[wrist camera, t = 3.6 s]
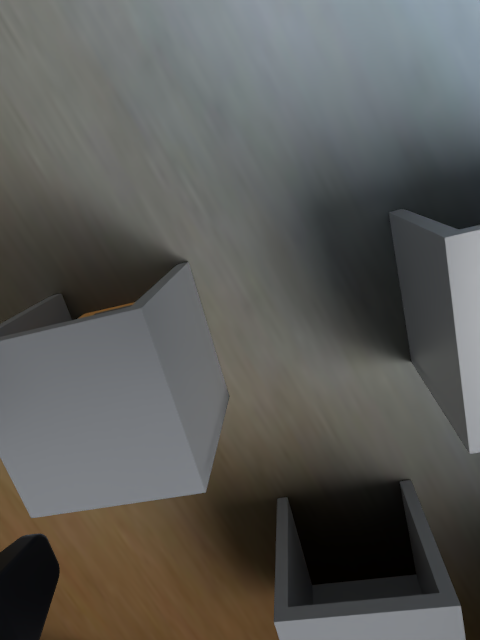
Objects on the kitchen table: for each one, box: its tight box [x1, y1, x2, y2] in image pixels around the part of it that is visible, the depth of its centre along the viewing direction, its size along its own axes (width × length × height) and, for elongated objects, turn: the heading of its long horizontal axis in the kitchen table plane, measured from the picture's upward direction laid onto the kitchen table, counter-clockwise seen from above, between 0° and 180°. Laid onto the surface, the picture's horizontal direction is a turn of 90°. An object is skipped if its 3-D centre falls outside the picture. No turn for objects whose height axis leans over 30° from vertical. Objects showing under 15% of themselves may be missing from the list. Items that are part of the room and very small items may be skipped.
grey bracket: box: [0, 262, 229, 518], centre depth 16 cm, size 6×6×6 cm
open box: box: [274, 480, 466, 640], centre depth 18 cm, size 6×6×6 cm
